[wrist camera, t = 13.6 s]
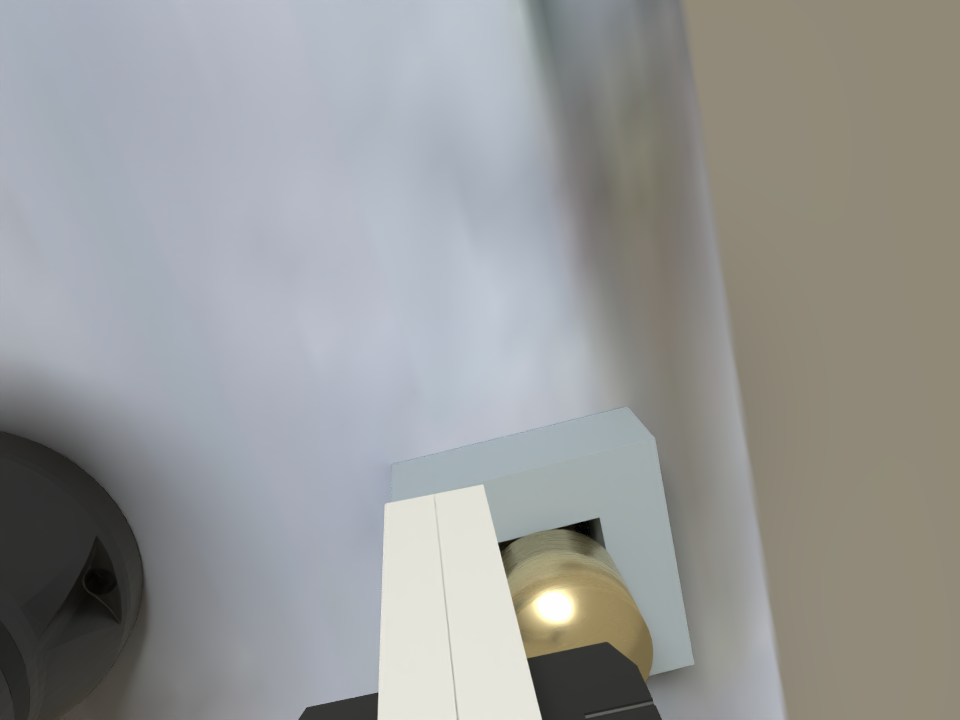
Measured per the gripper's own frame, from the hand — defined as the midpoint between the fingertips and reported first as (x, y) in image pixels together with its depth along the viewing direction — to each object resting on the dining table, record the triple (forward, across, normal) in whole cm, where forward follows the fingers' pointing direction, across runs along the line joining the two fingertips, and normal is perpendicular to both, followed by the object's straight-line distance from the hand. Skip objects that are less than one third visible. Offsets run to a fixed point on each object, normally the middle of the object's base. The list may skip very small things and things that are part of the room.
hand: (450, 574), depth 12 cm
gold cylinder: (+26, +4, -14) cm, 30 cm away
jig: (+26, +4, -14) cm, 30 cm away
